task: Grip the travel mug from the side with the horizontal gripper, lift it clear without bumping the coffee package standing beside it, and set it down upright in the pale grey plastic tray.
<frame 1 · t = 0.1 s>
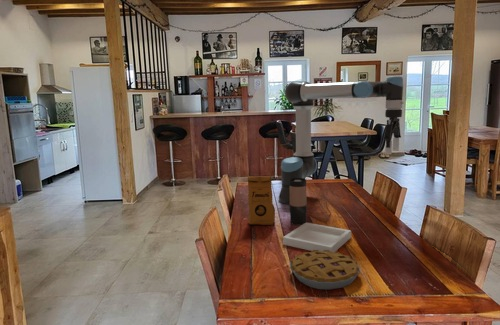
hand: (392, 152, 185), 28 cm above the table, tool pointing down, fingers open, 13 cm apart
pie: (324, 275, 120), on the table
coffee package: (261, 223, 172), on the table
tray: (317, 240, 148), on the table
travel mug: (298, 222, 171), on the table
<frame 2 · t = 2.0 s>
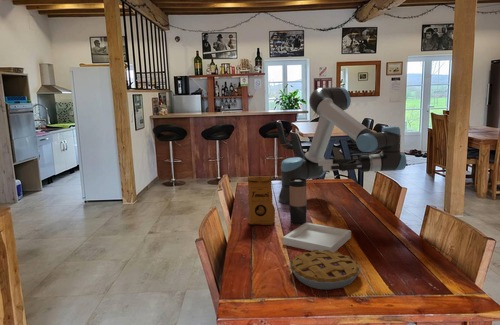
hand: (320, 165, 167), 26 cm above the table, tool horizontal, fingers open, 13 cm apart
nothing on the table moved.
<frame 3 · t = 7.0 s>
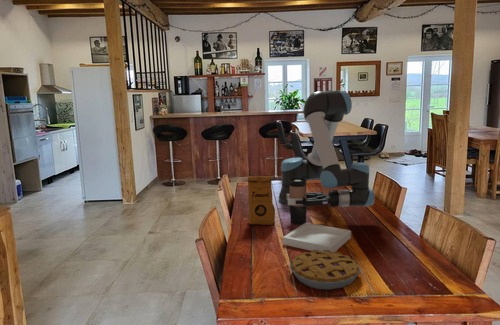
hand: (287, 199, 169), 11 cm above the table, tool horizontal, fingers closed on travel mug, 7 cm apart
travel mug: (298, 222, 171), on the table, touching gripper
everything else where it was.
when the fingers open (13 cm above the table, at t = 12.8 s): travel mug drops 1 cm, resting on tray.
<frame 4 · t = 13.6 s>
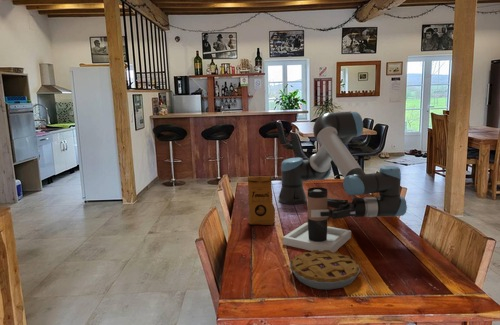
hand: (308, 208, 146), 13 cm above the table, tool horizontal, fingers open, 13 cm apart
travel mug: (317, 239, 148), point 1 cm above the table, touching tray
everything else where it was.
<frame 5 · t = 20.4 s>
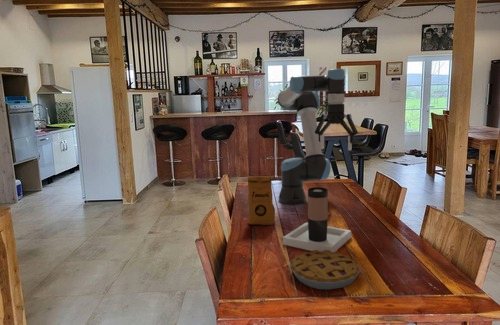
hand: (335, 149, 175), 32 cm above the table, tool pointing down, fingers open, 13 cm apart
nothing on the table moved.
at the end: travel mug inside the target area on the tray (0.1 cm from its centre), point 0.8 cm above the tray's base; travel mug tilted 0°; coffee package moved 0.2 cm from its start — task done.
